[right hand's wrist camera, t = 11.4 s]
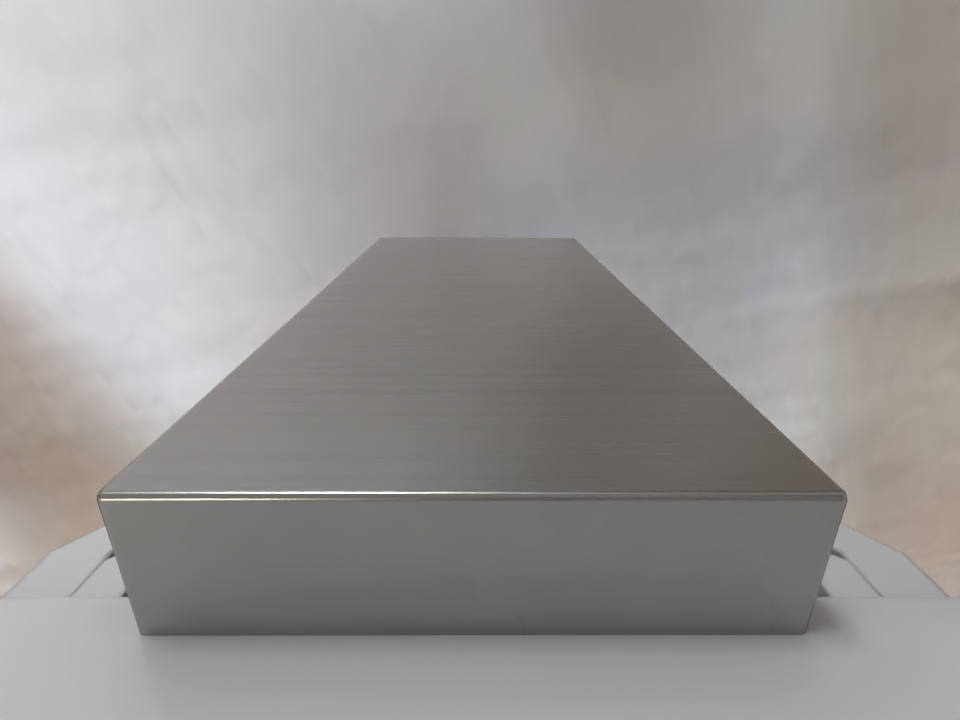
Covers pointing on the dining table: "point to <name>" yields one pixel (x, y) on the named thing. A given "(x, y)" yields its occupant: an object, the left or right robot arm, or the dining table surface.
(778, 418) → the dining table surface
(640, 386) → the box
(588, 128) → the dining table surface
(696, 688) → the right robot arm
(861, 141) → the dining table surface
